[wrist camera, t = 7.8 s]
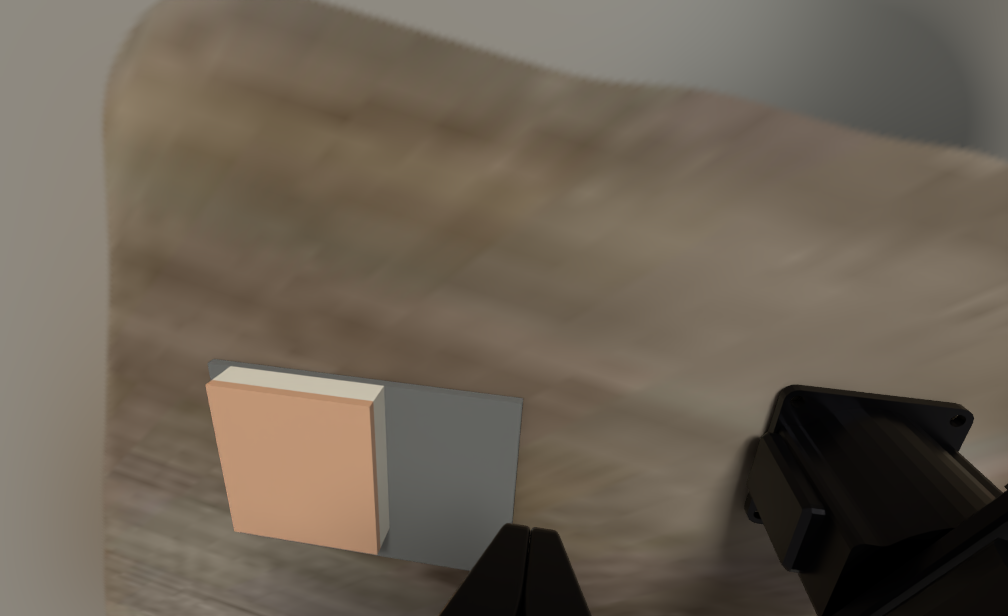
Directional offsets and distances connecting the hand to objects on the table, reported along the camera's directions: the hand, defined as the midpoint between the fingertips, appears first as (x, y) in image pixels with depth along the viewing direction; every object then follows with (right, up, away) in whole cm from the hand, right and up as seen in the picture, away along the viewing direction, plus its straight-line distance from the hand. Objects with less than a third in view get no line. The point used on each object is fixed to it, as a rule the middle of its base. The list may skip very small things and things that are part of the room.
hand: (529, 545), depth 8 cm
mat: (-7, -4, +16) cm, 18 cm away
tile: (-6, -4, +14) cm, 16 cm away
